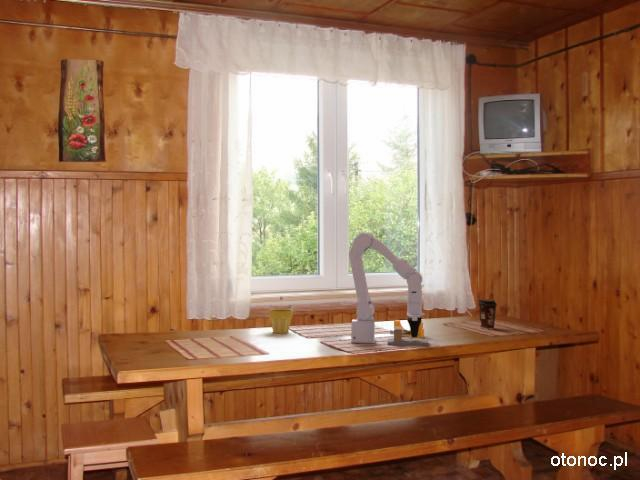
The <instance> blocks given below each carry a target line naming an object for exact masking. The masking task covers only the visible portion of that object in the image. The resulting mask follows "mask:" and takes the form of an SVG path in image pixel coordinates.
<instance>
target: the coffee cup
mask: <svg viewBox="0 0 640 480" xmlns="http://www.w3.org/2000/svg"><path fill="white" fill-rule="evenodd" d="M497 305H498V304H497V302H496V301H495V300H494V299H487V298H483V299H479V300H478V306H479V310H478V316H479V321H480V325H479V326H480V327H479V328H480V329H482V328H485V329H484V330H494V329H495V321H496V309H497ZM493 328H494V329H493Z"/></svg>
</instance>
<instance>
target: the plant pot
mask: <svg viewBox="0 0 640 480" xmlns="http://www.w3.org/2000/svg"><path fill="white" fill-rule="evenodd" d="M268 316H269V317H268V318H269V319H270V322H271V328H272V332H273V333H274V334H288V333H289V330H290V326H291V322H292V319H293V318H294V317H293V316H294V310H293V309H290V308H272V309H269V313H268Z"/></svg>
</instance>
